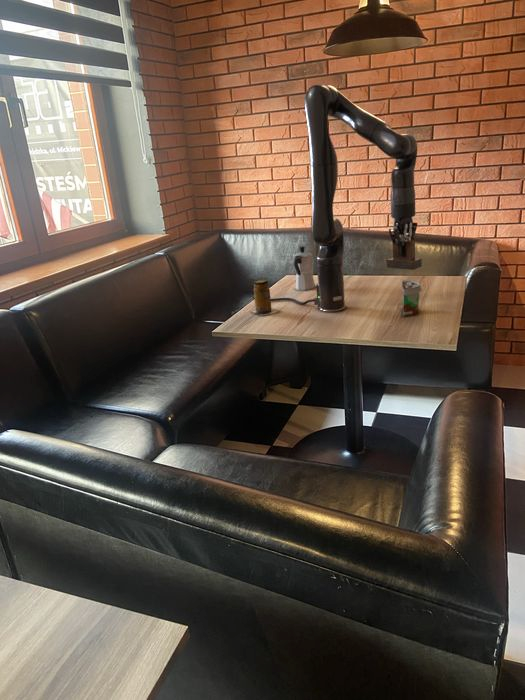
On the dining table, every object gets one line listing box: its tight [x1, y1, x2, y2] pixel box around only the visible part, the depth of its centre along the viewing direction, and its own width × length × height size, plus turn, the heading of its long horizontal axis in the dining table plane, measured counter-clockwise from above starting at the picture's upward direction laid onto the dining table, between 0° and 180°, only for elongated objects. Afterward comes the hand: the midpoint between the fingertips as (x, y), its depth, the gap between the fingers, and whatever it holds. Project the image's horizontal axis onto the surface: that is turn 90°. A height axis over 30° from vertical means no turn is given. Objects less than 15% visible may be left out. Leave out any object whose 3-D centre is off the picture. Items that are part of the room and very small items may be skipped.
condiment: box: [250, 279, 279, 316], centre depth 202 cm, size 7×8×12 cm
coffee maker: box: [292, 245, 316, 291], centre depth 228 cm, size 15×9×18 cm, turn 154°
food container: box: [401, 280, 422, 318], centre depth 183 cm, size 12×6×10 cm, turn 168°
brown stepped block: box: [386, 239, 423, 271], centre depth 175 cm, size 10×5×9 cm, turn 44°
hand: (403, 255), depth 175 cm, fingers closed on brown stepped block
